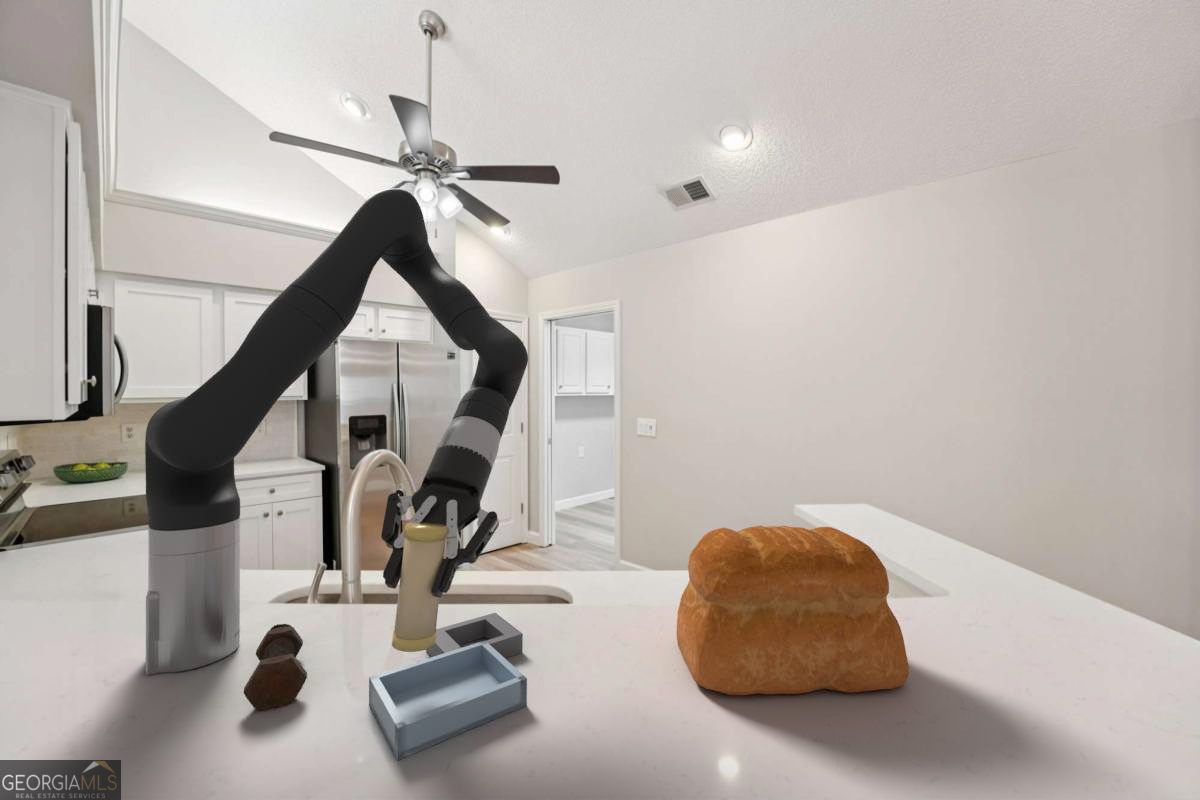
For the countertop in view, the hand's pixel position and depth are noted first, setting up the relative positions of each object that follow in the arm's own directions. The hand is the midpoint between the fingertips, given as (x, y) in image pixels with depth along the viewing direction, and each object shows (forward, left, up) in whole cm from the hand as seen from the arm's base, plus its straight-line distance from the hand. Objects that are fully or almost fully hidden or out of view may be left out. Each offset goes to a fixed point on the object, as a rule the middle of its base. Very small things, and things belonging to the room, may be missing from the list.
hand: (412, 589), depth 55 cm
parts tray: (+3, -3, -12) cm, 13 cm away
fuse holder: (+10, +6, -12) cm, 17 cm away
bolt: (-11, +15, -13) cm, 23 cm away
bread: (+40, -20, -13) cm, 47 cm away
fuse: (0, +1, -6) cm, 6 cm away
